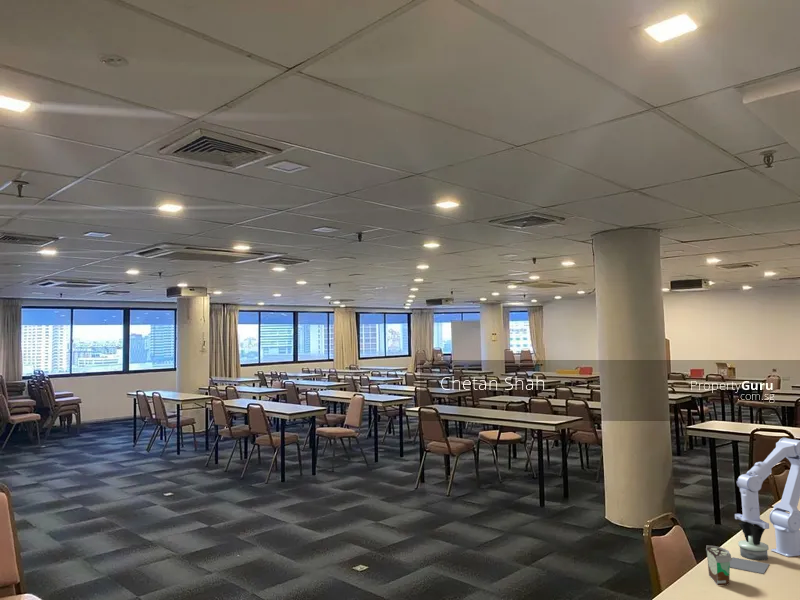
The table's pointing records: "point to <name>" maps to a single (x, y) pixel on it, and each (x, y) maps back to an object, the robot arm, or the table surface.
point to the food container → (718, 564)
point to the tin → (753, 554)
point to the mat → (748, 565)
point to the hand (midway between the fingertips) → (753, 543)
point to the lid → (752, 545)
